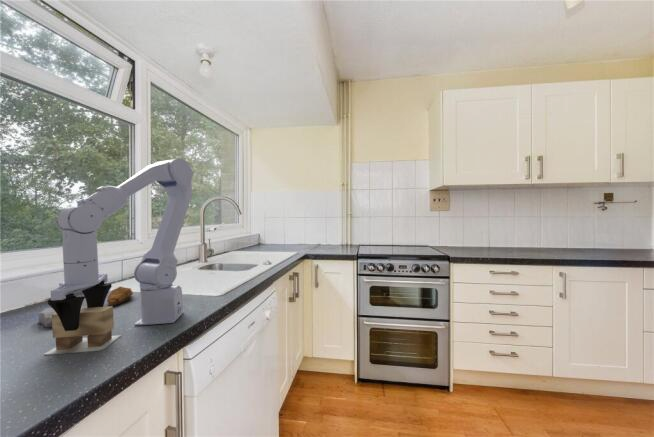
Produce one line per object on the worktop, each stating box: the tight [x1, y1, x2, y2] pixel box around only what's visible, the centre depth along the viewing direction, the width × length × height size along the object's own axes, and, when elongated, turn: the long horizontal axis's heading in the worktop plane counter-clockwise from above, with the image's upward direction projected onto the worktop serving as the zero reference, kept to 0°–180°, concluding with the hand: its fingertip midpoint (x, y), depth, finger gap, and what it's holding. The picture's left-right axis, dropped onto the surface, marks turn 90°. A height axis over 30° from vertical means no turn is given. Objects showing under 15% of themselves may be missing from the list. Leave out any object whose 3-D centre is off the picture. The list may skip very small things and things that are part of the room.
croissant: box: [106, 286, 134, 307], centre depth 94 cm, size 14×7×5 cm, turn 17°
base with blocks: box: [43, 330, 122, 356], centre depth 63 cm, size 11×7×3 cm, turn 98°
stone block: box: [38, 298, 87, 328], centre depth 79 cm, size 12×5×10 cm
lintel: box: [51, 306, 115, 339], centre depth 63 cm, size 10×3×5 cm, turn 99°
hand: (84, 322), depth 63 cm, fingers open, 7 cm apart
